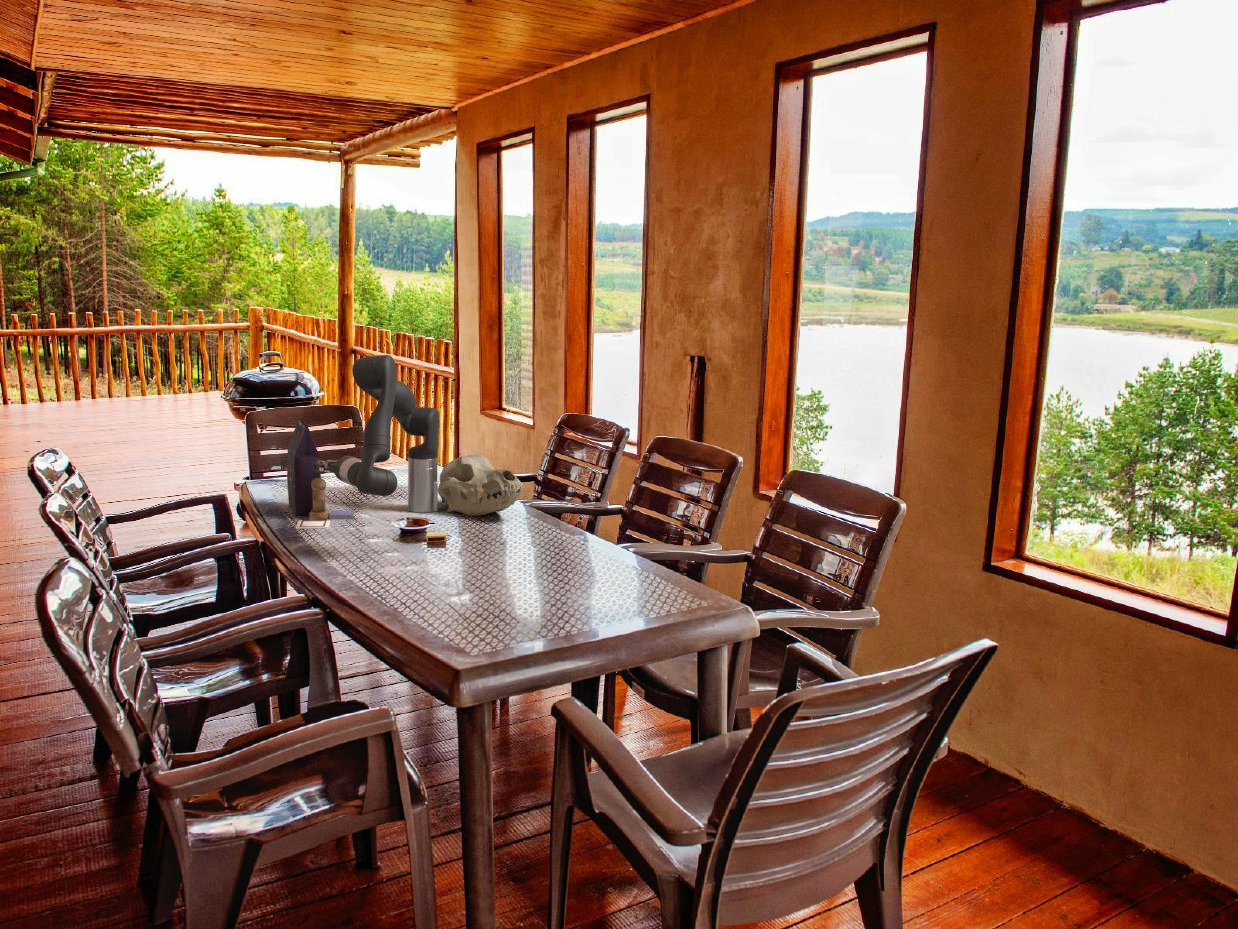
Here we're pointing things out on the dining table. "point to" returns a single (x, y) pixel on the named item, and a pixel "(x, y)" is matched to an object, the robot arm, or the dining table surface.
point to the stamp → (318, 500)
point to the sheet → (313, 524)
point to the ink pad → (341, 514)
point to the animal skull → (477, 486)
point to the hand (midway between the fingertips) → (331, 461)
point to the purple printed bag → (301, 470)
